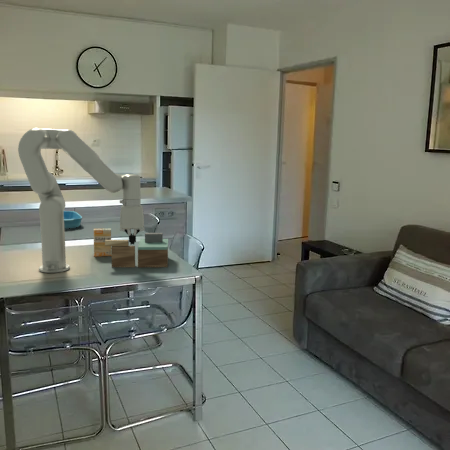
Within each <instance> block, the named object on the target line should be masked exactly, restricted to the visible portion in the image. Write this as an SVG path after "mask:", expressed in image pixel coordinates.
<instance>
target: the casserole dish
mask: <svg viewBox="0 0 450 450" xmlns="http://www.w3.org/2000/svg"><path fill="white" fill-rule="evenodd" d="M82 220H83V216H82V215H81V214H79V213H78V212H77V211H74V210H73V211H72V210H64V230H67V229H69V228H70V229H76V227H77V228H78V227H80V226H81V223H82Z"/></svg>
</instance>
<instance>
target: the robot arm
mask: <svg viewBox="0 0 450 450" xmlns="http://www.w3.org/2000/svg"><path fill="white" fill-rule="evenodd" d="M42 149H45V150H46V149H47V150H62V151H63V152H64V153H65V154H67V155H68V156H69V157H70V158H71V159H72V160H74V161H75V163H77V164H78V165H79V166H80V167H81V168H82V169H83V170H84V171H85V172H86V173H87V174H89V175H90V176H91V177H92V178H93V179H94V180H95V181H96V182H98V184H100V186H102V187H103V189H105V190H106V191H108V192H109V193H111V194H115V193H119V192H120V191H122V199H120V200H119V204H122V205H121V207H120V212H119V214H120V216H119V226H120V228H119V231H120V232H125V233H126V234H127V235H128V240H129V246H135V243H137V234H139V233H140V232H144V231H145V230H146V229H145V219H144V218H145V217H144V210H143V205H142V202H141V197H142V196H141V176H140V175H139V174H133V173H132V174H131V173H130V174H121V173H115V172H114V171H113V170H112V169H111V168H110V167H109V166H107V164H105V163H104V161H103V160H102V159H101V158H100V156H99V155H98V154H97V152H96V151H95V150H94V149H92V148H91V147H90V145H88V144H87V142H85V141H84V140H83V139H81V137H79V135H77V133H76V132H75V131H74V130H72V129H67V128H65V129H55V128H53V129H52V128H38V127H34V128H31V129H29V130H27V131H25V133H24V134H23V135H22V136H21V138H20V140H19V142H18V147H17V151H18V156H19V160H20V162H21V164H22V167H23V170H24V173H25V175H26V178H27V180H28V182H29V187H30V188H31V190H32V191H33V192H34V193H35V194H37V196H38V197H39V200H40V203H39V207H38V213H39V214H38V215H39V224H40V236H41V237H40V239H41V260H42V265H40V266H38V271H39V272H41V273H48V274H49V273H50V274H55V273H62V272H67V271H68V270H70V267H71V266H70V264H68V263H67V259H66V257H67V256H66V255H67V254H66V233H65V229H64V211H65V209H66V201H65V198H64V195H63V193H62V191H61V188H60V186H59V184H58V181H57V179H56V177H55V175H54V174H53V173H52V172H50V171H49V170H48V168H47V166H46V163H45V160H44V158H43V155H42V153H41V151H42ZM132 230H133V233H132Z"/></svg>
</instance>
